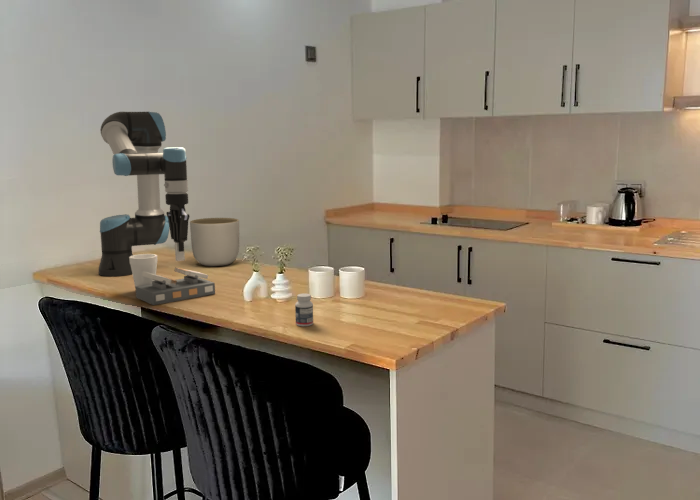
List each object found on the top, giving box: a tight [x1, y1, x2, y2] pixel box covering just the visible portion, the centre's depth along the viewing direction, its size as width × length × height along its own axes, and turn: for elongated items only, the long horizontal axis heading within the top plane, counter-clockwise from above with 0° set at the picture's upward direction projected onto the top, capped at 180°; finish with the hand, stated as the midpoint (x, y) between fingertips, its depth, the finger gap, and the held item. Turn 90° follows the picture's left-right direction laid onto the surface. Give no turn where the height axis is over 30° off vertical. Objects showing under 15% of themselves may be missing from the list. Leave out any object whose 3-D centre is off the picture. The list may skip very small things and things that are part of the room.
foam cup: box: [129, 253, 158, 287], centre depth 233 cm, size 10×9×13 cm
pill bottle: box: [294, 293, 314, 327], centre depth 192 cm, size 5×5×9 cm
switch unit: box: [134, 275, 216, 306], centre depth 228 cm, size 14×23×6 cm, turn 131°
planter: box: [189, 217, 240, 267], centre depth 282 cm, size 21×21×19 cm
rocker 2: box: [173, 266, 209, 280], centre depth 231 cm, size 8×9×2 cm
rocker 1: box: [142, 271, 177, 285], centre depth 223 cm, size 8×9×2 cm
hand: (180, 260), depth 227 cm, fingers closed
